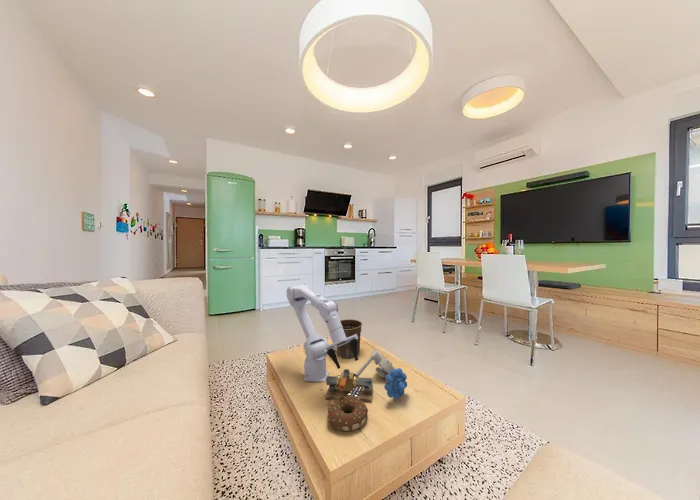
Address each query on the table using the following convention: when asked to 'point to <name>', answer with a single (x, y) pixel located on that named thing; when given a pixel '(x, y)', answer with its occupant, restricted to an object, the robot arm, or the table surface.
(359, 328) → the plant pot
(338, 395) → the walnut board
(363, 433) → the table surface
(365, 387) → the pipe and valve body
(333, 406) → the donut
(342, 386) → the valve lever
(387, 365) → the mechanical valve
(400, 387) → the grapes
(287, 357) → the table surface
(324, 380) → the robot arm
